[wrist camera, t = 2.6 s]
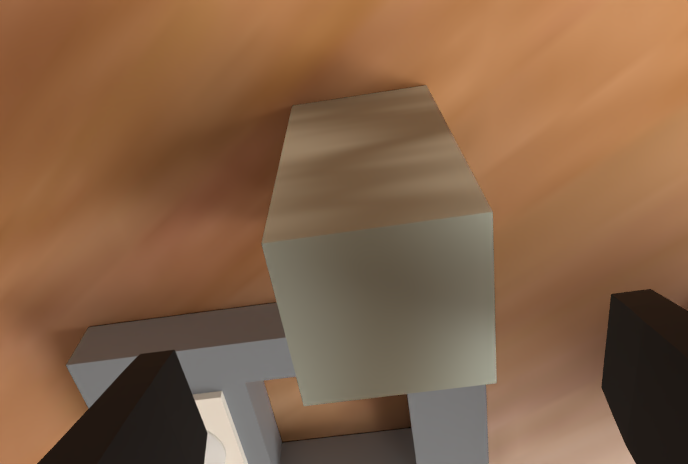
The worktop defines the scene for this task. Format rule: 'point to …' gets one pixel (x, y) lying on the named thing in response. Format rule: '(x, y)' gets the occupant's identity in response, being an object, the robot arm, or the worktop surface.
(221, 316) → the board
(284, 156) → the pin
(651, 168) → the worktop surface
